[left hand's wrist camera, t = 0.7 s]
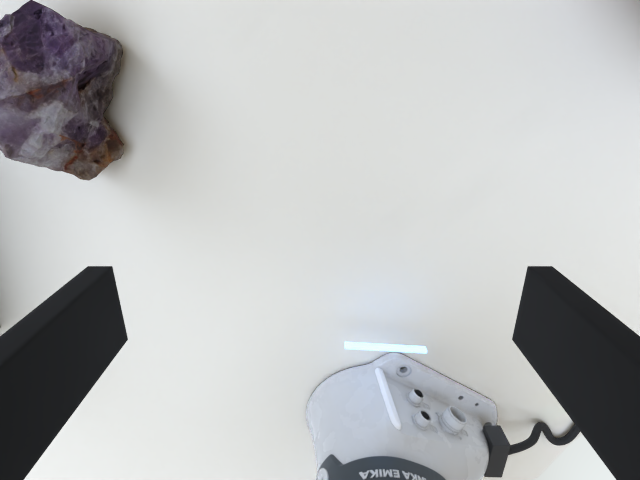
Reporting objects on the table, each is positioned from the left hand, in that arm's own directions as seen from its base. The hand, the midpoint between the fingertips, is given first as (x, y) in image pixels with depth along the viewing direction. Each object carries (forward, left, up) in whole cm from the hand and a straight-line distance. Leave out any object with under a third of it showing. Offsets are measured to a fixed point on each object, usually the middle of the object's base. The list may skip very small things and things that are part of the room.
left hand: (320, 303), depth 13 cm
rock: (-5, -21, -25) cm, 33 cm away
